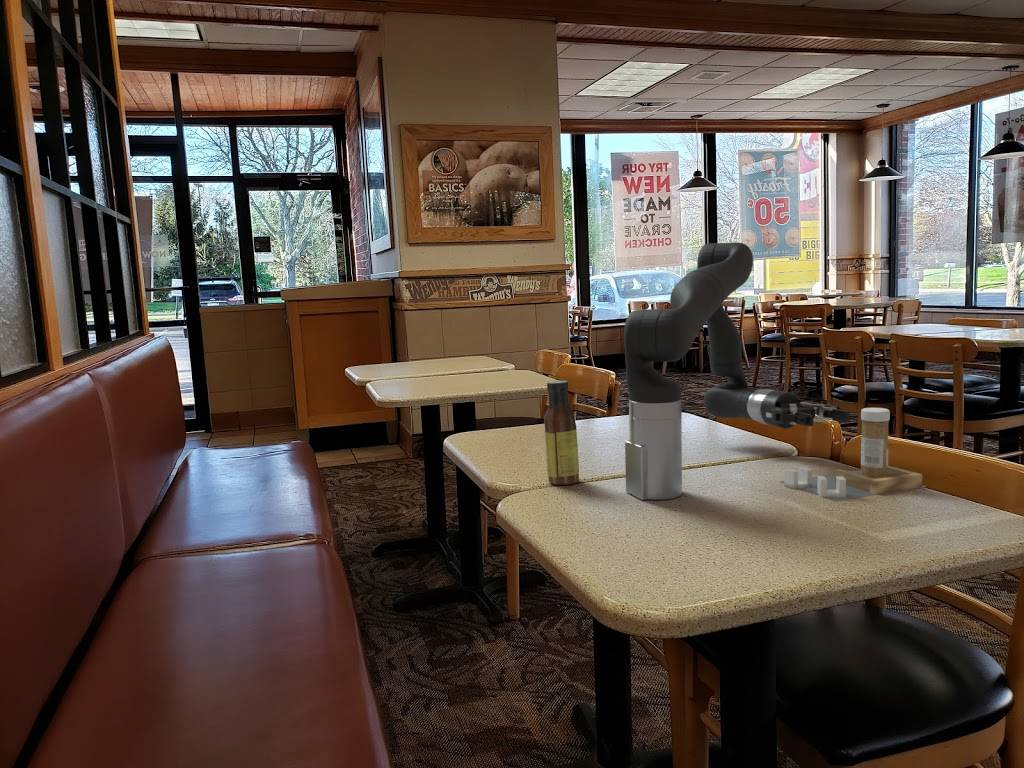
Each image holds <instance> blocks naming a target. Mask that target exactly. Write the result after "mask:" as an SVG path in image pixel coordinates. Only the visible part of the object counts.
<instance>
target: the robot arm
mask: <svg viewBox="0 0 1024 768" xmlns="http://www.w3.org/2000/svg"><path fill="white" fill-rule="evenodd" d="M753 256H754V255H753V253H752V250H751V248H750V247H749V246H748V245H747V244H746V243H742V242H737V241H736V242H735V241H734V242H733V241H732V242H717V243H716V242H714V243H712V242H711V243H706V244H704V245H702V246H701V248H700V249H699V252H698V254H697V262H696V263H697V265H696V267H697V268H696V269H693V270H692V271H690V272H688V273H686V275H684V276H683V277H681V279H680V280H679V281H678V282H677V283H676V284H675V286H674V287H673V288H672V291H671V294H670V301H669V302H670V307H671V308H669V309H668V308H664V309H663V308H662V309H661V308H658V309H657V308H656V309H655V308H654V309H653V308H652V309H636V310H633V311H631V312H630V313H629V314H628V316H627V318H626V320H625V323H624V329H623V330H624V332H623V342H624V344H623V345H624V357H625V370H626V371H625V374H626V377H625V378H626V384H627V390H628V414H629V415H628V425H629V426H628V427H629V430H628V431H629V433H628V434H629V440H625V441H624V442H625V443H624V452H625V453H624V454H625V460H624V461H625V462H624V463H625V492H626V493H628V494H629V495H631V494H632V495H631V496H634V497H636V498H638V499H640V500H670V499H676V498H678V497H680V496H681V495H682V494H683V467H682V466H683V461H682V460H683V459H682V458H683V456H682V455H683V450H682V449H683V448H682V447H683V445H682V443H683V442H682V440H683V437H682V432H683V431H682V430H683V428H682V424H683V423H682V422H683V421H682V419H683V418H682V417H683V416H682V412H683V411H682V408H683V407H682V387H681V384H680V383H679V382H677V381H676V380H673V379H670V378H668V377H666V376H664V375H662V374H661V373H659V372H658V371H657V370H656V369H655V367H654V365H653V362H655V363H656V362H659V363H660V362H661V363H662V362H664V363H665V362H666V363H670V362H676V361H679V360H681V359H683V358H684V357H685V356H686V355H687V354H688V352H689V350H690V348H691V347H692V344H693V343H694V341H695V339H696V337H697V336H698V334H699V333H700V331H701V329H702V328H703V326H704V325H705V324H706V327H707V334H708V343H709V345H708V346H709V348H708V349H709V366H710V367H709V368H710V372H711V373H712V374H713V375H714V376H717V377H724V378H727V383H722V384H719V385H715V386H712V387H709V388H708V389H707V390H706V392H705V393H704V395H703V404H704V407H705V409H706V411H708V413H709V414H711V415H712V416H714V417H717V418H722V419H723V418H725V419H726V418H727V419H728V418H729V419H731V418H732V419H733V418H734V419H735V418H736V419H738V418H741V419H748V420H752V421H756V422H758V423H760V424H763V425H768V426H771V427H775V428H781V429H786V430H787V429H791V428H793V427H795V426H796V425H802V426H806V427H812V426H814V422H815V423H822V422H824V421H832V422H838V423H839V422H840V423H845V424H847V423H849V422H850V412H849V411H848V410H842V406H840V405H833V404H825V403H821V402H819V403H810V402H807V401H806V402H805V401H802V400H801V399H800V398H799V396H798V395H797V394H795V393H793V392H788V391H782V390H776V389H771V388H765V389H764V388H763V389H761V388H757V387H749V384H748V380H747V378H746V375H745V371H744V367H743V361H742V360H743V358H742V357H743V356H742V340H741V335H740V332H739V330H738V328H737V326H736V325H735V323H734V321H733V320H732V319H731V317H730V315H728V313H727V311H726V310H725V307H724V306H723V303H724V301H725V300H726V299H727V298H728V297H729V296H730V295H731V294H732V293H733V292H735V291H736V290H737V289H739V288H740V287H741V286H743V285H744V284H745V283H746V282H747V280H748V279H749V278H750V275H751V273H752V270H753V267H754V265H753V264H754V257H753ZM817 416H818V418H817Z"/></svg>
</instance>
